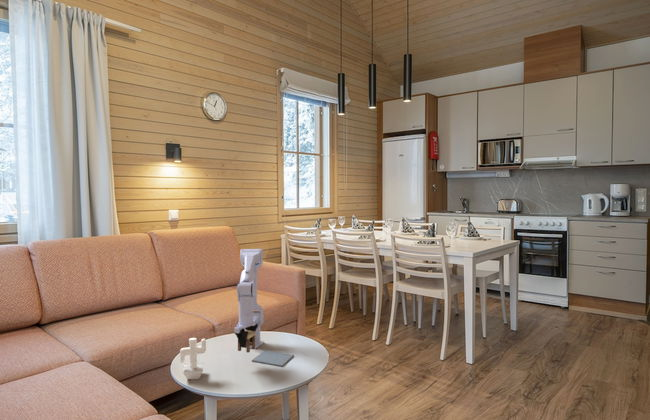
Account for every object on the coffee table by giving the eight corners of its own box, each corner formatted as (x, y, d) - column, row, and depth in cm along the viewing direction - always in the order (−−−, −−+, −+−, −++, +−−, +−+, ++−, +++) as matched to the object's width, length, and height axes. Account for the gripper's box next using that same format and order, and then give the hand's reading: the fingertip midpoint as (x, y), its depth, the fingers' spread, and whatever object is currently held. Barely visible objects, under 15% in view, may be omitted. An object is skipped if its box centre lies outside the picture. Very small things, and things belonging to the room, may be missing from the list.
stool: (237, 350, 167) (237, 333, 167) (244, 346, 172) (244, 329, 172) (248, 352, 166) (248, 335, 165) (255, 348, 170) (255, 331, 170)
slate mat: (251, 361, 173) (251, 360, 173) (264, 351, 184) (264, 350, 184) (282, 366, 168) (282, 365, 168) (293, 356, 179) (293, 354, 179)
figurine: (181, 373, 163) (180, 336, 161) (206, 370, 165) (205, 333, 164) (180, 382, 156) (178, 343, 154) (206, 379, 158) (205, 340, 157)
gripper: (244, 318, 160) (245, 352, 161) (263, 307, 173) (264, 339, 174) (229, 316, 162) (229, 350, 163) (249, 305, 176) (249, 337, 177)
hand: (246, 344), depth 169 cm, fingers closed on stool, 5 cm apart
